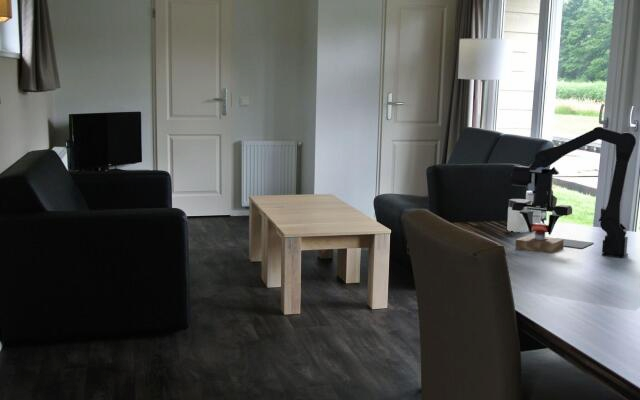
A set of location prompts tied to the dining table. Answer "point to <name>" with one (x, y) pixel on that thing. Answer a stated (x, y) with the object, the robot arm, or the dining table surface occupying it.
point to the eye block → (539, 244)
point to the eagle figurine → (543, 216)
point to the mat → (576, 243)
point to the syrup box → (536, 212)
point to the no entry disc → (539, 230)
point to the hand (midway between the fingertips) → (540, 233)
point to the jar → (516, 218)
